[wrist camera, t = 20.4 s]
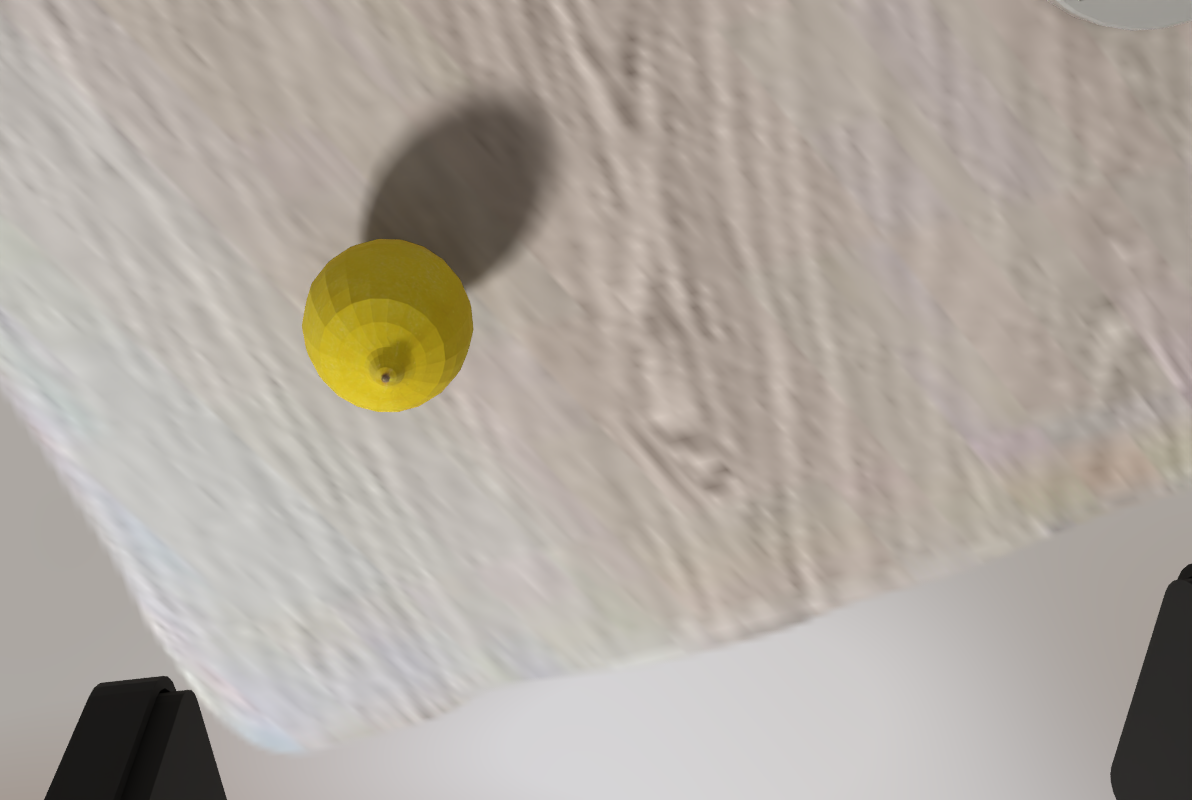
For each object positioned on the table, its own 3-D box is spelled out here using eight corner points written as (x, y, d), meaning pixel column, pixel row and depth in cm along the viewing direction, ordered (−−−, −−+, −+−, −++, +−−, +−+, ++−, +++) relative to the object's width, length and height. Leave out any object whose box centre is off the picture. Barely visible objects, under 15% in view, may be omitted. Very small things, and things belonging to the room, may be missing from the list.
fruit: (337, 189, 35) (309, 270, 28) (489, 234, 36) (498, 322, 29) (302, 328, 37) (268, 435, 30) (447, 365, 39) (446, 476, 32)
